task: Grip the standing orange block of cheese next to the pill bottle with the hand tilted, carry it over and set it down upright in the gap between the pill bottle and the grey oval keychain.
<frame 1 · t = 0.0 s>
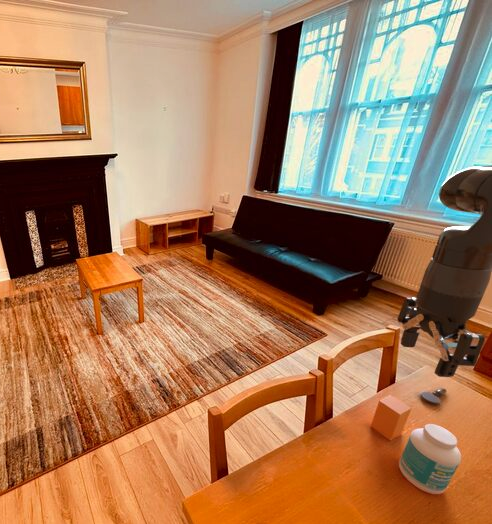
hand: (423, 359, 54), 29 cm above the table, tool pointing down, fingers open, 8 cm apart
pill bottle: (420, 477, 61), on the table
grey oval keychain: (433, 397, 79), on the table
cheese: (385, 430, 71), on the table
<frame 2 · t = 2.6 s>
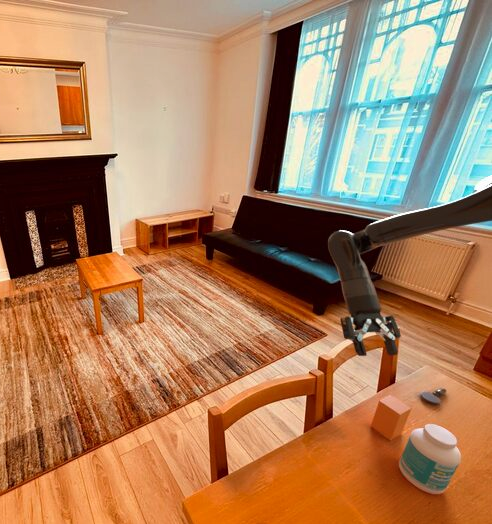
hand: (377, 355, 73), 17 cm above the table, tool tilted 40°, fingers open, 8 cm apart
nothing on the table moved.
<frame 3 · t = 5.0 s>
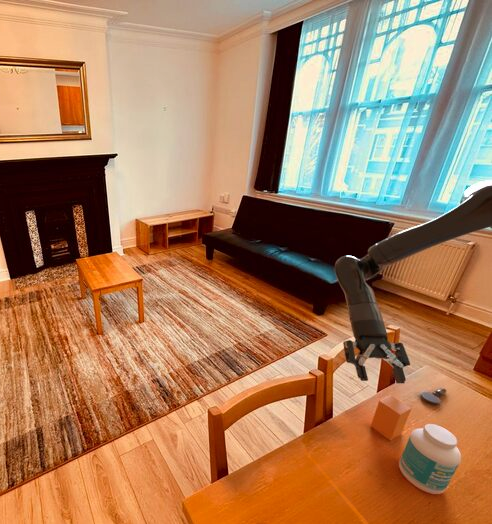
hand: (382, 382, 72), 11 cm above the table, tool tilted 45°, fingers open, 8 cm apart
nothing on the table moved.
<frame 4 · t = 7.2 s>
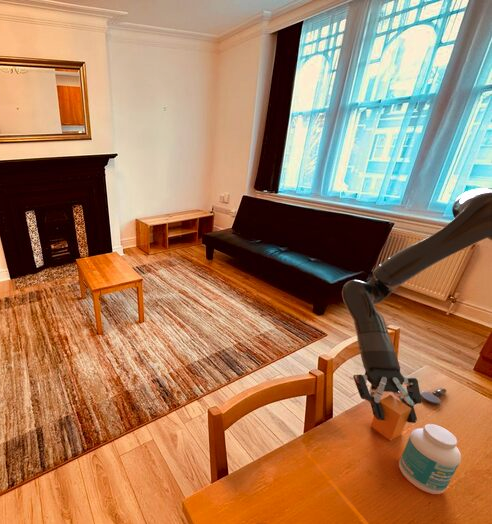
hand: (396, 421, 67), 5 cm above the table, tool tilted 45°, fingers closed on cheese, 6 cm apart
cheese: (385, 430, 71), on the table, touching gripper
everything else where it was.
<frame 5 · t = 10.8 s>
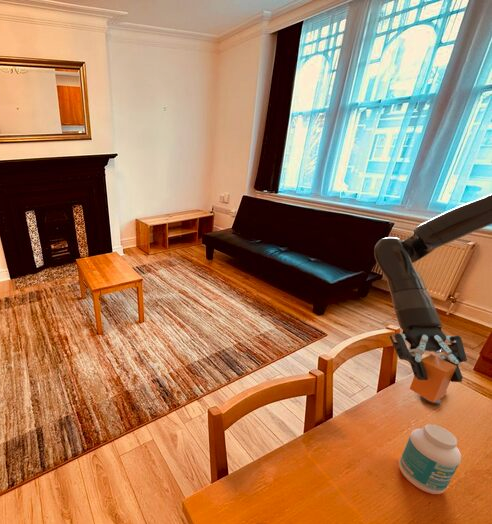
hand: (439, 380, 63), 18 cm above the table, tool tilted 45°, fingers closed on cheese, 6 cm apart
cheese: (426, 392, 66), point 13 cm above the table, touching gripper
everything else where it was.
when the fingers open (5 cm above the table, at t = 14.7 s): cheese stays where it is, on the table.
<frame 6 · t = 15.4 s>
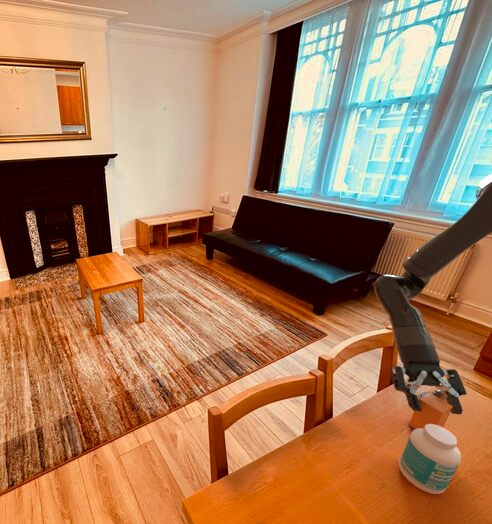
hand: (436, 412, 67), 7 cm above the table, tool tilted 45°, fingers open, 8 cm apart
cheese: (424, 428, 71), on the table
everything else where it was.
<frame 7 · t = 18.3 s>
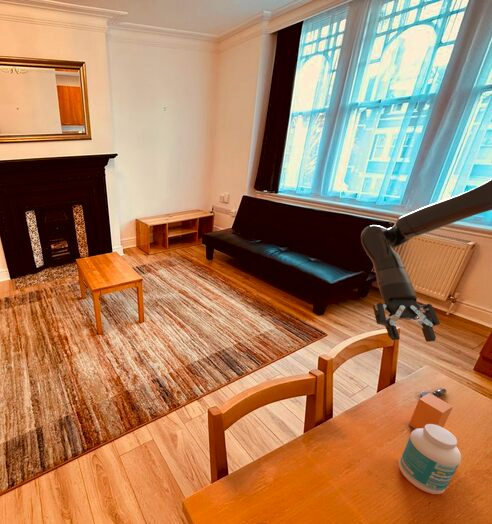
hand: (413, 340, 75), 19 cm above the table, tool tilted 45°, fingers open, 8 cm apart
nothing on the table moved.
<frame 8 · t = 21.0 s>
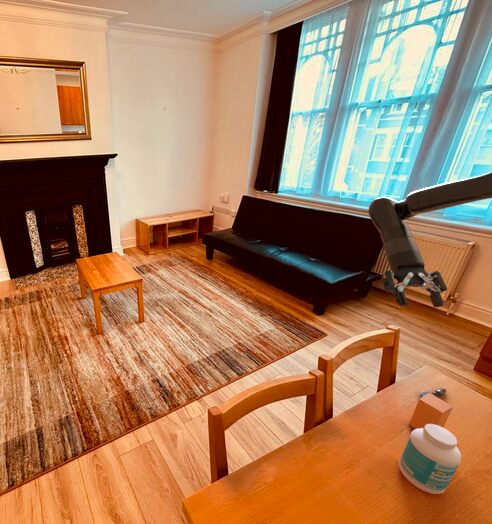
hand: (421, 306, 77), 27 cm above the table, tool tilted 45°, fingers open, 8 cm apart
nothing on the table moved.
at the end: cheese 16.2 cm from the pill bottle (horizontally); cheese 14.9 cm from the grey oval keychain (horizontally); cheese tilted 0° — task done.
